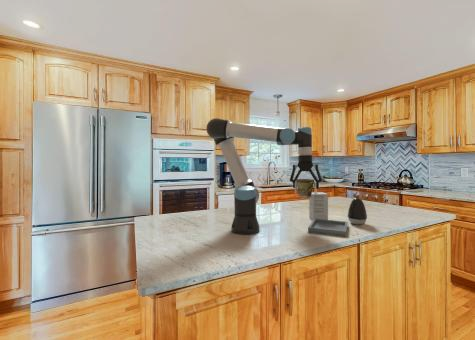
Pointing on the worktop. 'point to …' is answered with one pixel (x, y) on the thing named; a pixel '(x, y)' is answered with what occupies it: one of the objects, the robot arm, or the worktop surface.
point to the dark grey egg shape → (357, 212)
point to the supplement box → (318, 206)
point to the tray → (328, 227)
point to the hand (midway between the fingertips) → (305, 194)
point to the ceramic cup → (305, 187)
